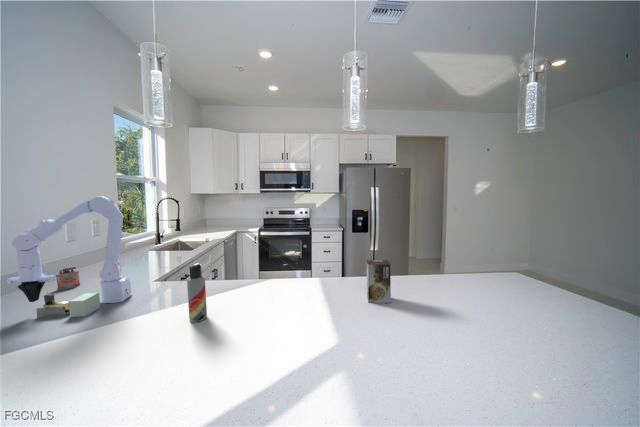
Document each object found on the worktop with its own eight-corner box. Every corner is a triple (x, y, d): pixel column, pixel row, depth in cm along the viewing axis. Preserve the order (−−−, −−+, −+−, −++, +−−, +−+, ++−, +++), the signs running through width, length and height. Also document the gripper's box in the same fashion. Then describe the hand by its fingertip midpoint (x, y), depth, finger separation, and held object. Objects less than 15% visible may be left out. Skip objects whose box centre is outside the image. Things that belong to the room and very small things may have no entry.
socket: (100, 307, 101) (99, 292, 100) (85, 316, 93) (83, 300, 93) (86, 307, 100) (85, 293, 100) (70, 317, 93) (68, 301, 92)
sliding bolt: (76, 307, 98) (74, 292, 97) (69, 311, 95) (67, 295, 94) (51, 309, 97) (49, 293, 96) (42, 313, 94) (41, 297, 93)
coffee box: (388, 296, 107) (388, 259, 106) (390, 303, 101) (391, 264, 99) (366, 296, 108) (366, 259, 106) (367, 302, 101) (367, 263, 100)
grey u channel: (76, 309, 99) (75, 300, 99) (64, 316, 94) (63, 307, 93) (51, 310, 98) (50, 302, 98) (37, 317, 93) (36, 308, 92)
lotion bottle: (200, 323, 87) (196, 267, 85) (185, 322, 88) (182, 266, 86) (210, 315, 93) (207, 262, 91) (196, 314, 94) (193, 261, 92)
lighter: (57, 290, 118) (55, 270, 117) (56, 289, 120) (54, 268, 120) (81, 285, 125) (79, 265, 124) (79, 284, 127) (77, 264, 126)
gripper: (61, 261, 98) (64, 295, 99) (19, 263, 97) (24, 297, 98) (43, 267, 91) (47, 303, 92) (-2, 268, 90) (3, 305, 91)
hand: (34, 300), depth 95 cm, fingers closed
